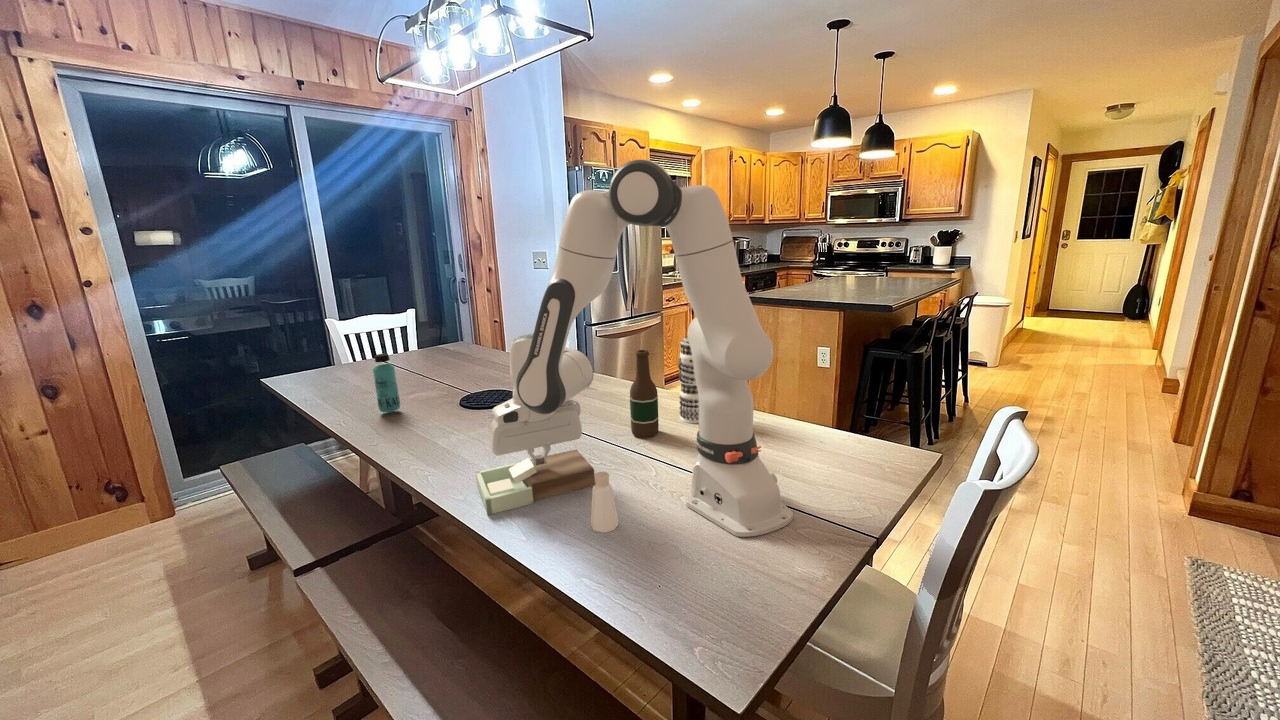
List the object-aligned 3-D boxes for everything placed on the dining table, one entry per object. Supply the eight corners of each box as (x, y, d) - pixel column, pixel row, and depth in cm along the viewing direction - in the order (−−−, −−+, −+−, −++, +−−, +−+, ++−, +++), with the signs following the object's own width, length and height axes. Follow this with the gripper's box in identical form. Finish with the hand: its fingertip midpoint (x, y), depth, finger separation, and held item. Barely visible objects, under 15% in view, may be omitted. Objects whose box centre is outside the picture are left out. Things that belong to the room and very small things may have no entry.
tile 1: (490, 493, 108) (491, 500, 109) (514, 487, 110) (514, 494, 111) (486, 483, 113) (487, 490, 113) (509, 478, 115) (510, 484, 115)
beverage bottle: (381, 411, 168) (371, 353, 163) (403, 408, 170) (393, 351, 165) (378, 418, 162) (367, 357, 157) (400, 415, 164) (390, 355, 159)
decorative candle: (714, 415, 154) (714, 335, 148) (701, 425, 146) (701, 341, 140) (686, 411, 159) (686, 333, 152) (673, 420, 151) (672, 339, 145)
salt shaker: (585, 525, 99) (581, 474, 96) (606, 514, 103) (603, 465, 100) (603, 536, 95) (600, 484, 93) (624, 524, 99) (621, 473, 96)
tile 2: (536, 472, 112) (534, 466, 111) (516, 483, 110) (513, 478, 110) (531, 463, 116) (528, 457, 115) (511, 474, 115) (508, 468, 114)
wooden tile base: (594, 485, 115) (593, 469, 114) (534, 500, 109) (532, 483, 108) (577, 464, 125) (576, 449, 124) (521, 477, 119) (519, 461, 118)
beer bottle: (659, 428, 146) (657, 347, 140) (657, 439, 138) (655, 354, 132) (632, 428, 147) (629, 347, 141) (629, 438, 139) (626, 354, 133)
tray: (533, 503, 108) (532, 488, 107) (487, 515, 104) (485, 499, 103) (518, 476, 120) (517, 462, 119) (477, 485, 116) (475, 471, 115)
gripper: (575, 394, 118) (578, 449, 121) (485, 409, 109) (491, 467, 113) (584, 402, 112) (587, 459, 116) (490, 419, 104) (496, 479, 107)
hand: (539, 463), depth 114 cm, fingers closed
